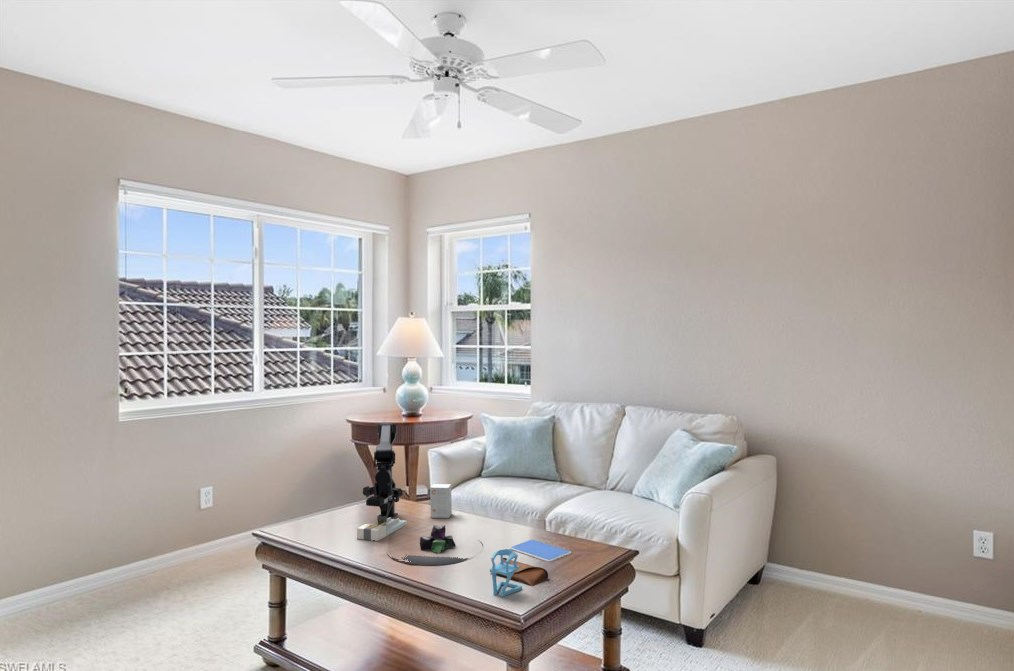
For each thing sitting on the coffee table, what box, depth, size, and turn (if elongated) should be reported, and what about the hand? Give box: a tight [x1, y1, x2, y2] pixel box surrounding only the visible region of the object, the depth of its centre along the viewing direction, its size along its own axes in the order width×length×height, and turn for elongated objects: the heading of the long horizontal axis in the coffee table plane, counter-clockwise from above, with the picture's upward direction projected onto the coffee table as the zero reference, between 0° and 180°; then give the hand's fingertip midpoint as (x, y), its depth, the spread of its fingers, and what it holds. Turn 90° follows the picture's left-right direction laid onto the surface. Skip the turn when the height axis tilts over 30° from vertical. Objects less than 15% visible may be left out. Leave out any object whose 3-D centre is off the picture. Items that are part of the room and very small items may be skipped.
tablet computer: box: [509, 539, 572, 563], centre depth 224 cm, size 19×13×1 cm, turn 45°
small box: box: [429, 483, 453, 519], centre depth 270 cm, size 8×6×13 cm
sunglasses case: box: [489, 557, 549, 587], centre depth 201 cm, size 18×7×7 cm
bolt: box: [368, 514, 387, 529], centre depth 245 cm, size 10×3×4 cm, turn 160°
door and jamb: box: [356, 517, 408, 542], centre depth 249 cm, size 22×9×4 cm, turn 160°
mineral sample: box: [386, 524, 484, 566], centre depth 228 cm, size 35×35×9 cm
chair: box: [489, 548, 523, 598], centre depth 189 cm, size 8×8×12 cm
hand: (385, 518), depth 251 cm, fingers closed
